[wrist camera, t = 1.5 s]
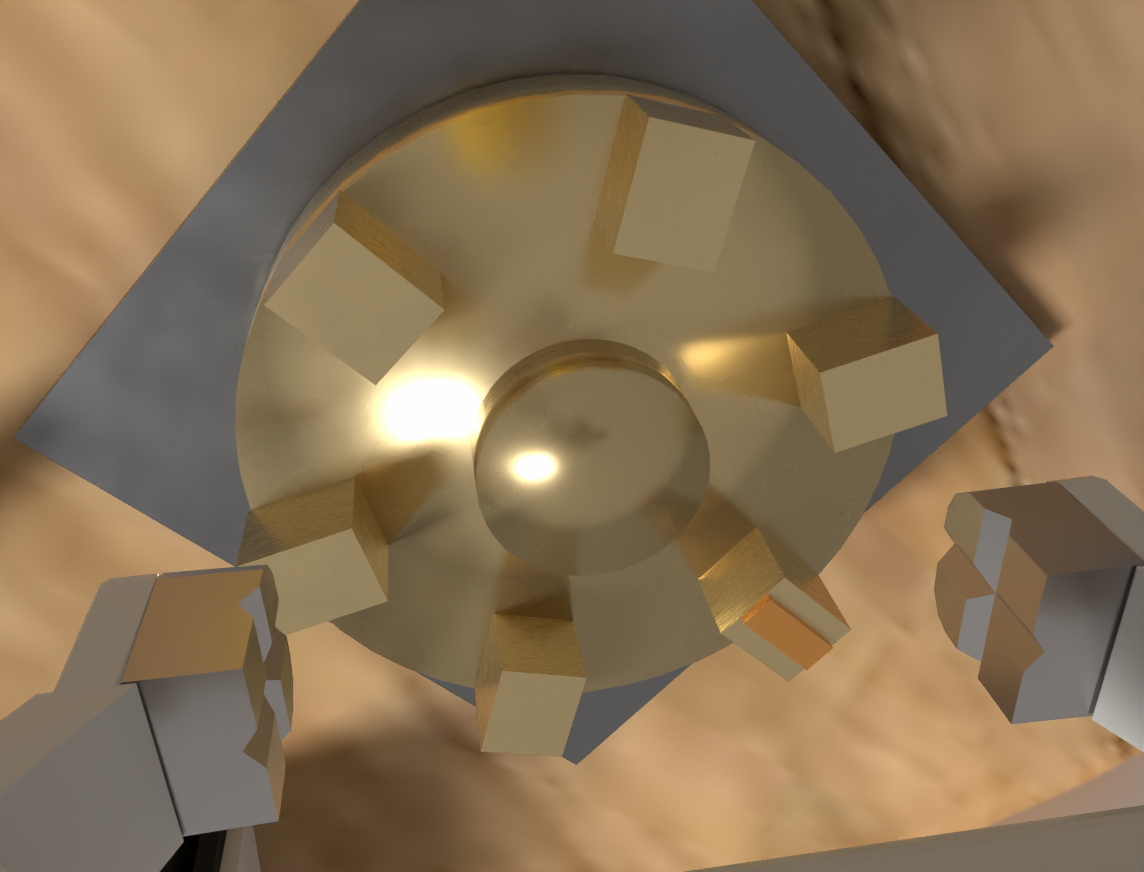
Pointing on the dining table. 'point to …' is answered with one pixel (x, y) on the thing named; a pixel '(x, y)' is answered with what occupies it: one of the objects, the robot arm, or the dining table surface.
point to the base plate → (394, 93)
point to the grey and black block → (217, 852)
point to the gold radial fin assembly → (570, 398)
